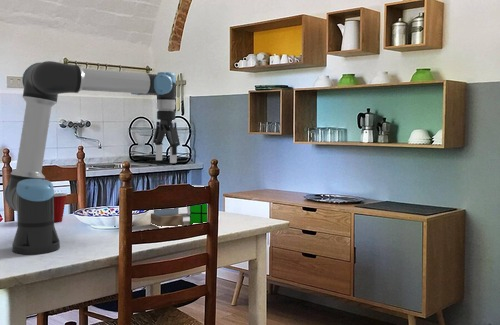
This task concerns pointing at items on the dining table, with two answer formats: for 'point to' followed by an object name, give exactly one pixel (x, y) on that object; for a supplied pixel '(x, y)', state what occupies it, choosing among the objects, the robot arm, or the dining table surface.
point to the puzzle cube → (198, 213)
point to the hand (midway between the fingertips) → (166, 161)
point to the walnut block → (167, 220)
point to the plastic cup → (59, 206)
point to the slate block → (166, 212)
